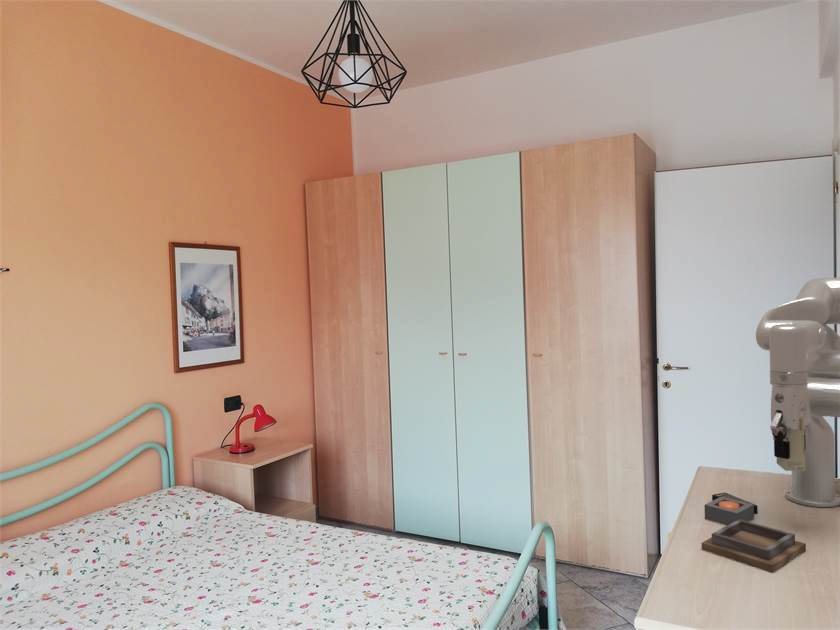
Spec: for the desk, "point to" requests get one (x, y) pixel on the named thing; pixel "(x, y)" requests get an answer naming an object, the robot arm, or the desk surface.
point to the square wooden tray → (754, 545)
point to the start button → (729, 505)
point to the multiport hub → (733, 499)
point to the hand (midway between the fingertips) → (790, 453)
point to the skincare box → (794, 450)
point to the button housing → (728, 511)
